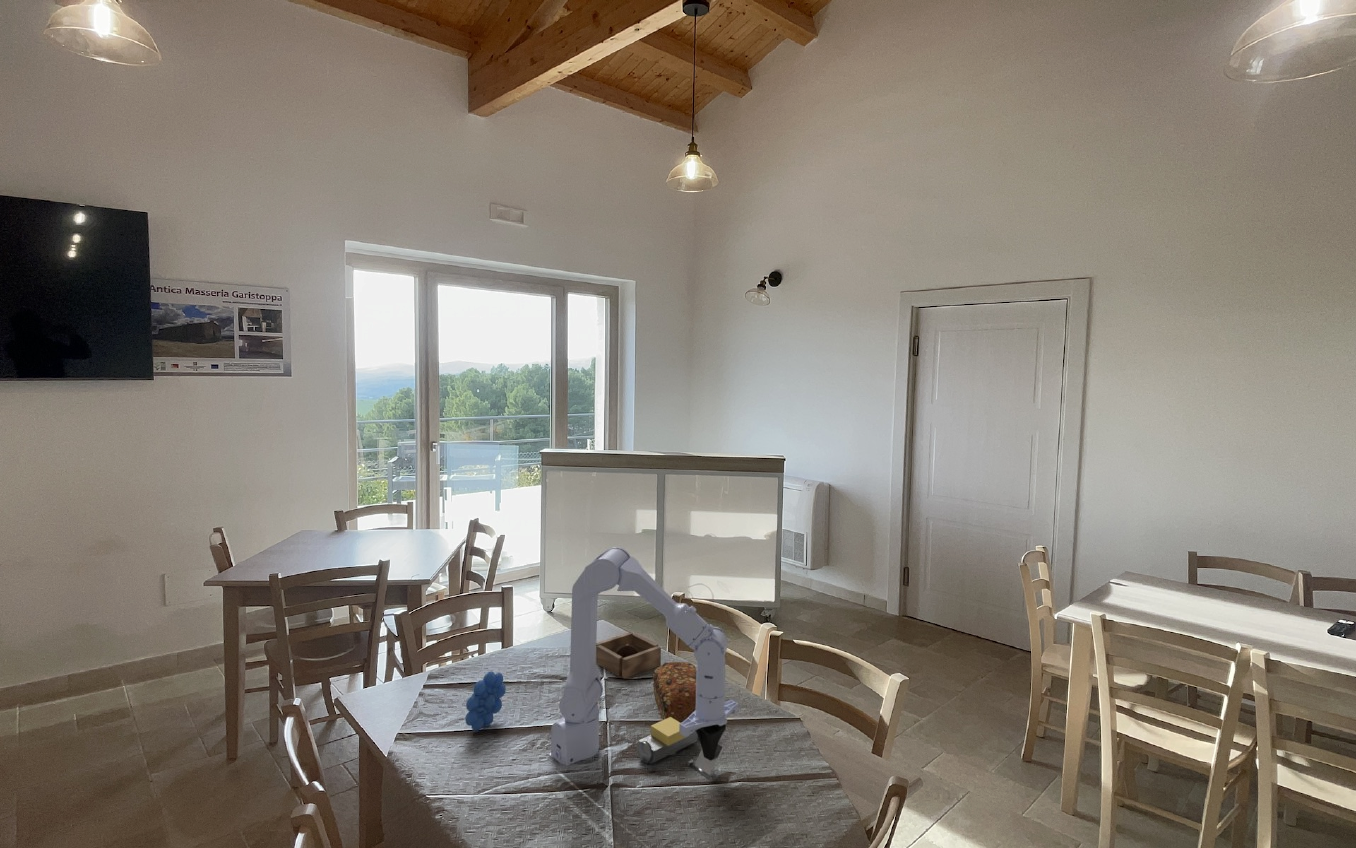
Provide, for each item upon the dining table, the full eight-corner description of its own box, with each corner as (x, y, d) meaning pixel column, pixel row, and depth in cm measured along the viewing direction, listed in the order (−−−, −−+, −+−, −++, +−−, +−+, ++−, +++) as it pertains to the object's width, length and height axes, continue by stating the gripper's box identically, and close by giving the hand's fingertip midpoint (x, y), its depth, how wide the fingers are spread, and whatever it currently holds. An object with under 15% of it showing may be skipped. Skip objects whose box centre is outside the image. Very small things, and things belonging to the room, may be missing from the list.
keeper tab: (711, 781, 133) (709, 780, 133) (692, 768, 137) (689, 767, 137) (726, 749, 135) (724, 748, 135) (706, 737, 140) (704, 736, 139)
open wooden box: (622, 679, 177) (623, 660, 176) (592, 661, 186) (592, 644, 186) (662, 664, 186) (662, 646, 185) (631, 648, 195) (631, 631, 195)
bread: (709, 733, 152) (710, 690, 151) (662, 737, 150) (662, 693, 149) (693, 693, 170) (694, 654, 170) (651, 695, 169) (652, 656, 168)
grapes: (490, 709, 160) (490, 660, 159) (512, 717, 157) (512, 666, 156) (452, 733, 150) (451, 680, 149) (475, 741, 147) (474, 687, 146)
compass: (635, 658, 189) (635, 633, 189) (638, 671, 181) (638, 644, 181) (606, 660, 188) (606, 634, 187) (608, 673, 180) (608, 646, 179)
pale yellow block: (667, 762, 139) (668, 736, 138) (650, 751, 143) (651, 725, 142) (687, 752, 142) (687, 727, 142) (669, 741, 146) (670, 717, 146)
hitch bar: (688, 801, 128) (689, 774, 128) (635, 763, 140) (635, 738, 140) (735, 774, 137) (736, 749, 136) (681, 740, 149) (681, 717, 148)
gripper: (697, 711, 127) (696, 781, 128) (750, 688, 137) (748, 753, 138) (672, 697, 132) (671, 764, 134) (724, 675, 142) (723, 738, 143)
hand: (708, 757), depth 136 cm, fingers closed, pressing on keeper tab
